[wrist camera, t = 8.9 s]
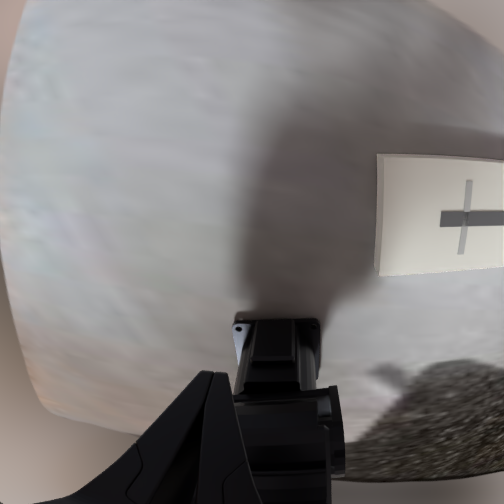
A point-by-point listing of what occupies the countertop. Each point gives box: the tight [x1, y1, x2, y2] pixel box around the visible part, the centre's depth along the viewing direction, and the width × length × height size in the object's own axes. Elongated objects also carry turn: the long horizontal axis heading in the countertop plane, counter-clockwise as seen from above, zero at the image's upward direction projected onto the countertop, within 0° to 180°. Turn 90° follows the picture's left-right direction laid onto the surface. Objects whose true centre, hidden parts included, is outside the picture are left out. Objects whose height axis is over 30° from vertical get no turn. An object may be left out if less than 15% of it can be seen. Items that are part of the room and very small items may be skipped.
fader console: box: [374, 154, 504, 277], centre depth 17 cm, size 8×18×2 cm, turn 96°
